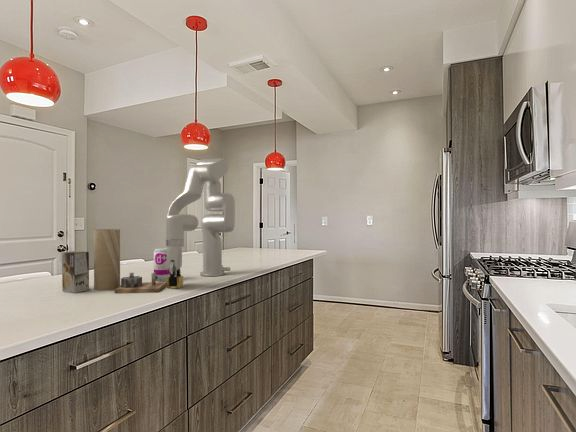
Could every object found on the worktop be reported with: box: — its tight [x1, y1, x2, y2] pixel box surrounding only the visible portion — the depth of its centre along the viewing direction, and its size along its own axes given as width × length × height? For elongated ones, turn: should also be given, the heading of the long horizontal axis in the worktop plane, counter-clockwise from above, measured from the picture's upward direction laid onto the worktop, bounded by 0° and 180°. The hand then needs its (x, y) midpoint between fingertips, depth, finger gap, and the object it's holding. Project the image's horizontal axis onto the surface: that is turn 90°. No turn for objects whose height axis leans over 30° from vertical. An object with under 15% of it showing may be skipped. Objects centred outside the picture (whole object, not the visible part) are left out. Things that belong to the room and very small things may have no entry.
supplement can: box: [153, 247, 170, 282], centre depth 172 cm, size 8×8×15 cm
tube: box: [93, 228, 121, 292], centre depth 153 cm, size 10×10×25 cm
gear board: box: [113, 272, 167, 294], centre depth 151 cm, size 17×14×7 cm
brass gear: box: [166, 275, 184, 290], centre depth 155 cm, size 7×7×4 cm
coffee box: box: [61, 250, 90, 294], centre depth 148 cm, size 9×6×16 cm
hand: (175, 284), depth 155 cm, fingers closed on brass gear, 6 cm apart
